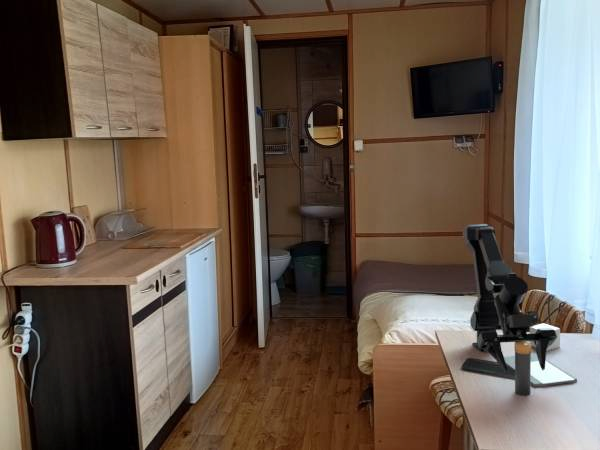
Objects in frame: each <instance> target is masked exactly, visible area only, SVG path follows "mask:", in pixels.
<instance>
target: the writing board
mask: <svg viewBox="0 0 600 450" xmlns="http://www.w3.org/2000/svg"><path fill="white" fill-rule="evenodd" d="M504 359H505V362H506V364H507V365H508V366H509V367H511V368H512V369H514V370H515V355H509V356H504ZM575 382H578V378H577V377H575V376H573V375H572V374H571V373H569V372H568V371H566V370H564V369H563V368H561V367H560V366H558V365H556V364H554V363H553V362H551V361H550V360H548V359H547V358H546V361H545V369H544V370H542V369H541V367H540V364H539V361H538V357H537V354H536V352H533V353H531V371H530V386H533V387H534V388H538V387H545V386H553V385H560V384H561V385H562V384H567V383H575Z"/></svg>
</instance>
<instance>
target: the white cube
mask: <svg viewBox="0 0 600 450" xmlns="http://www.w3.org/2000/svg"><path fill="white" fill-rule="evenodd" d="M529 328H530V330H529V334H535V333H536V331H537V330H538V329H539V328H552V329H553V330H555V331H556V334H557V338H556V340H555V341H554V342H553V344H552V345H551V346H549V347H548V348H547V350H546V352H548V350H549V351H552V350H555V349H557V348H561V328H559V327H557V326H553V325H550V324H547V323H544V322H542V323H538V324H536V325H535V324H534V325H533V327H529ZM529 343H531V347H533V346H534V348H535V347H536V346H537V345H535V344H534V341H529ZM551 349H552V350H551Z"/></svg>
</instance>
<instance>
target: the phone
mask: <svg viewBox="0 0 600 450" xmlns="http://www.w3.org/2000/svg"><path fill="white" fill-rule="evenodd" d="M506 366H507V371H506V372H505V371H504V370H503V369H502V367H501V366H500V365H499V363H498V362H497V361H495V360H494V361H493V360H486V359H481V358H473V357H467V358H466V359H465V361H463V363H462V365H461V370H462V371H464V372H469V373H470V372H471V373H477V374H481V375H482V374H483V375H489V376H493V377H494V376H495V377H500V378H505V379H513V380H515V370H514V369H512V368H511V367H509V366H508V365H507V364H506Z"/></svg>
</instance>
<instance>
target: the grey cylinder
mask: <svg viewBox="0 0 600 450" xmlns="http://www.w3.org/2000/svg"><path fill="white" fill-rule="evenodd" d="M531 354H532V346H531V343H530V341H527V342H526V341H517V342H514V356H515V379H514V393H515V394H516V395H517V396H521V397H522V396H523V397H528V396H530V395H531V384H530V371H531Z"/></svg>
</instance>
